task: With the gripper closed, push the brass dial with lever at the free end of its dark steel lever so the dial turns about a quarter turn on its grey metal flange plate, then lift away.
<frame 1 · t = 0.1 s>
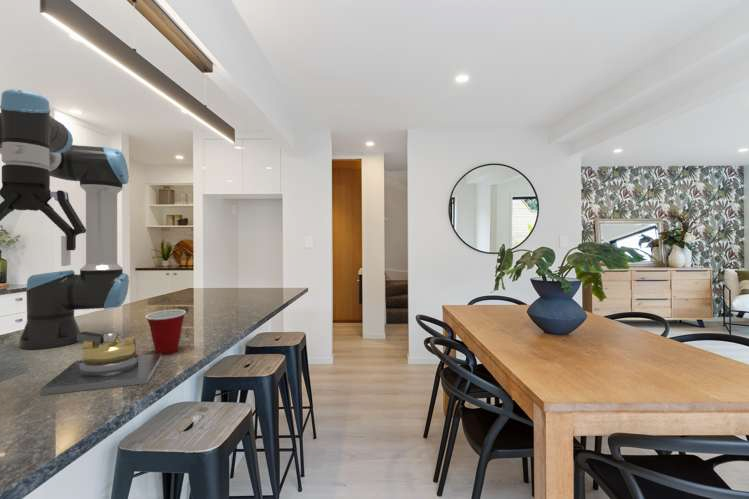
hand: (27, 266, 80), 28 cm above the countertop, tool pointing down, fingers open, 13 cm apart
plastic cup: (165, 352, 113), on the countertop
flange plate: (110, 374, 93), on the countertop
brass dial with lever: (101, 343, 95), point 7 cm above the countertop, hinge at 0.0°
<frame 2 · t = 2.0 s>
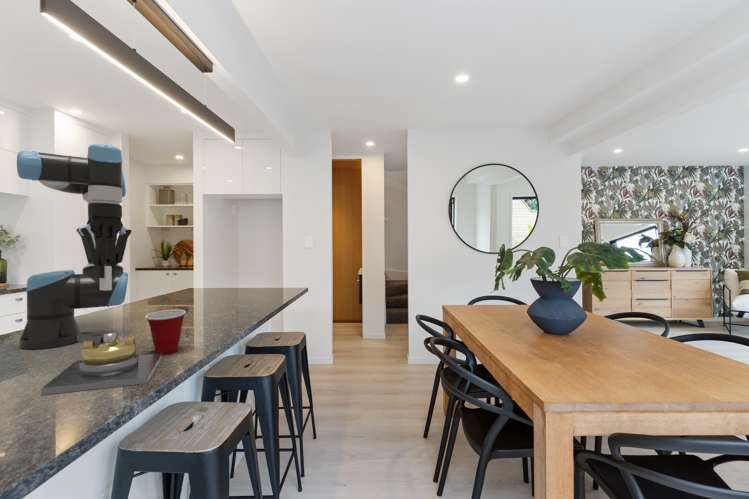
hand: (105, 289, 101), 20 cm above the countertop, tool pointing down, fingers closed
nothing on the countertop moved.
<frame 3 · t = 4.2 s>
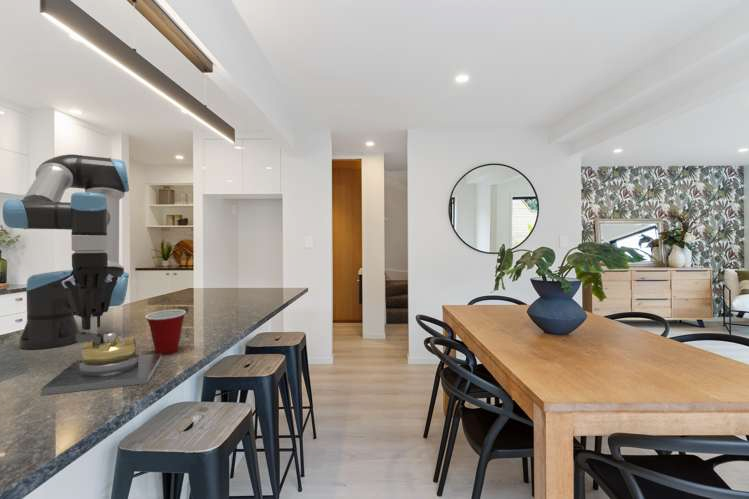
hand: (91, 341, 98), 7 cm above the countertop, tool pointing down, fingers closed
brass dial with lever: (101, 343, 94), point 7 cm above the countertop, hinge at 1.4°, touching gripper
everything else where it was.
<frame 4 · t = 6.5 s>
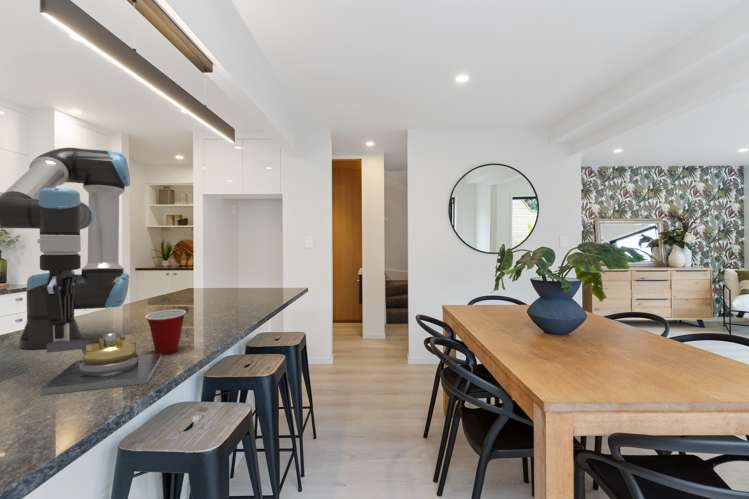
hand: (61, 350, 90), 7 cm above the countertop, tool pointing down, fingers closed
brass dial with lever: (93, 347, 92), point 7 cm above the countertop, hinge at 52.3°, touching gripper
everything else where it was.
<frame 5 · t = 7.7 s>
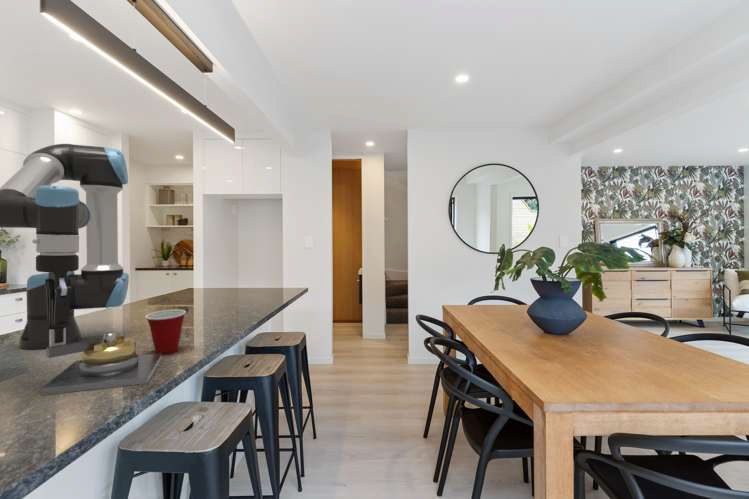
hand: (57, 355, 86), 7 cm above the countertop, tool pointing down, fingers closed
brass dial with lever: (94, 348, 91), point 7 cm above the countertop, hinge at 78.2°, touching gripper
everything else where it was.
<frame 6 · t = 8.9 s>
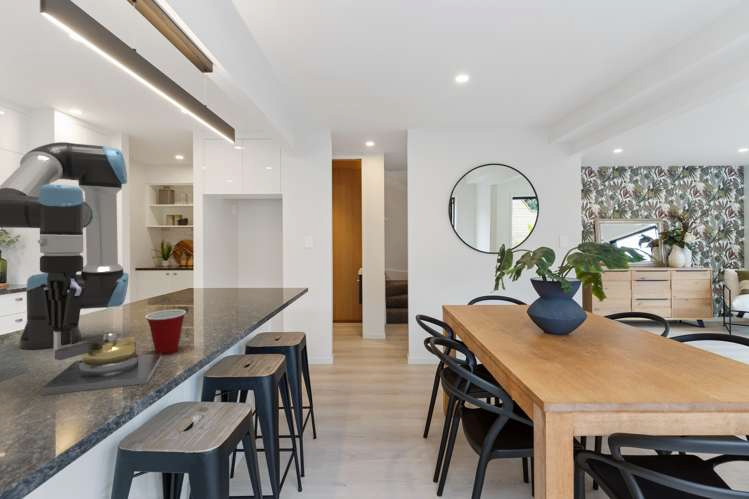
hand: (62, 358, 84), 7 cm above the countertop, tool pointing down, fingers closed
brass dial with lever: (97, 348, 90), point 7 cm above the countertop, hinge at 98.2°, touching gripper
everything else where it was.
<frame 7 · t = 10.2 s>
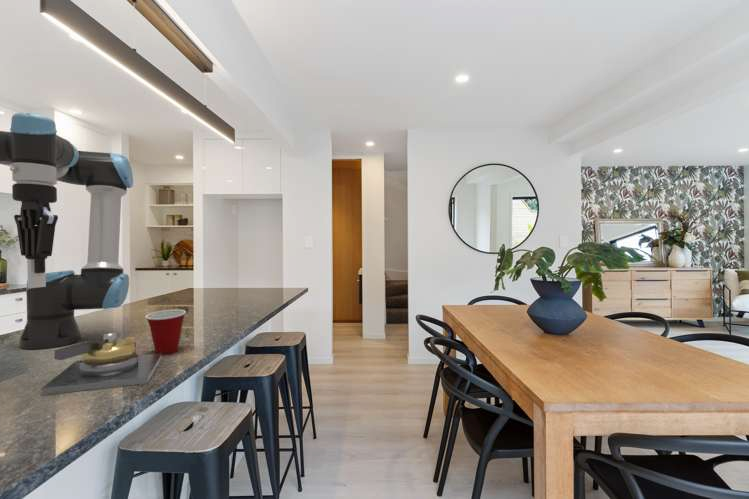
hand: (36, 287, 86), 23 cm above the countertop, tool pointing down, fingers closed
brass dial with lever: (97, 348, 90), point 7 cm above the countertop, hinge at 98.2°
everything else where it was.
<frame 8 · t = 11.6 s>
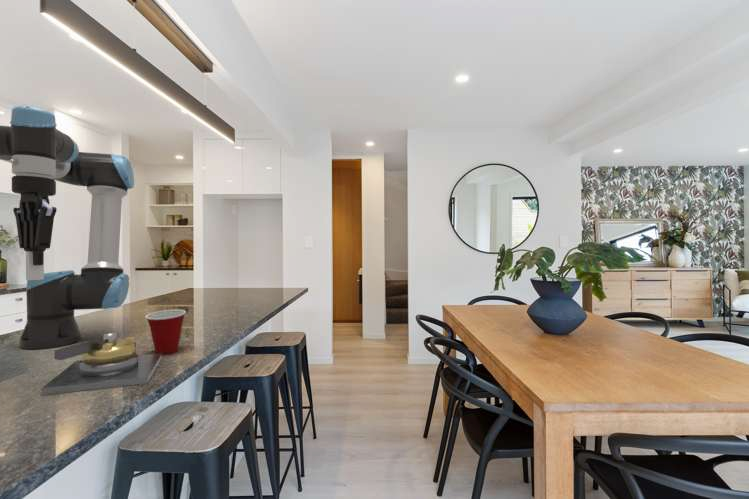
hand: (35, 279, 86), 24 cm above the countertop, tool pointing down, fingers closed
nothing on the countertop moved.
at the end: brass dial with lever at +98° (first picture: +0°); brass dial with lever touching nothing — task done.
